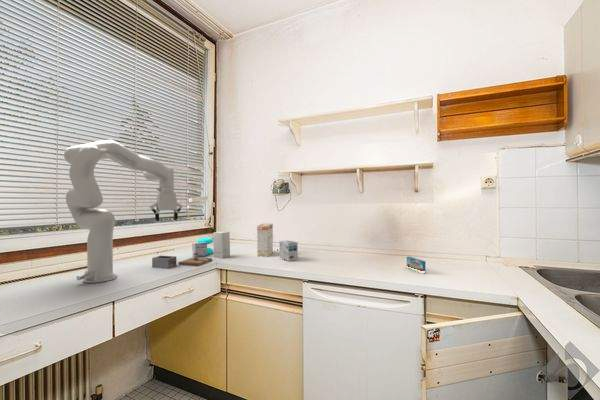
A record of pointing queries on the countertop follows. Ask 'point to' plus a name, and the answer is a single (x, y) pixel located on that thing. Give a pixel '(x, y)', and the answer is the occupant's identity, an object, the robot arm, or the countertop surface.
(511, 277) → the countertop surface
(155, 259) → the gray open box
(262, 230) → the coffeecake box
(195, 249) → the medicine box
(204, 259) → the keeper board
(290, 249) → the light bulb box
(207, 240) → the donuts
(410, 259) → the teal flat box
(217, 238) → the skincare box
